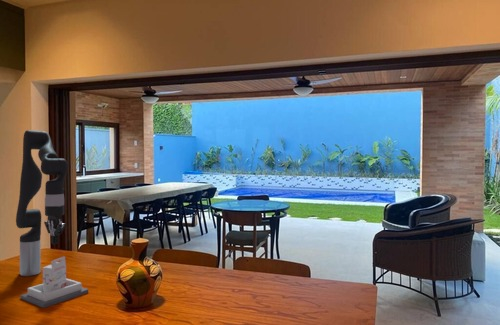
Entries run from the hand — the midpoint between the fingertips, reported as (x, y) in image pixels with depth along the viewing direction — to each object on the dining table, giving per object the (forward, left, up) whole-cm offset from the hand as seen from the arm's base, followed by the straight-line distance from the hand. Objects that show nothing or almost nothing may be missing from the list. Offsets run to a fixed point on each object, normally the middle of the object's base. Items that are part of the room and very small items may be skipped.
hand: (54, 243), depth 163 cm
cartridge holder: (0, 0, -23) cm, 23 cm away
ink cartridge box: (0, 0, -21) cm, 21 cm away
